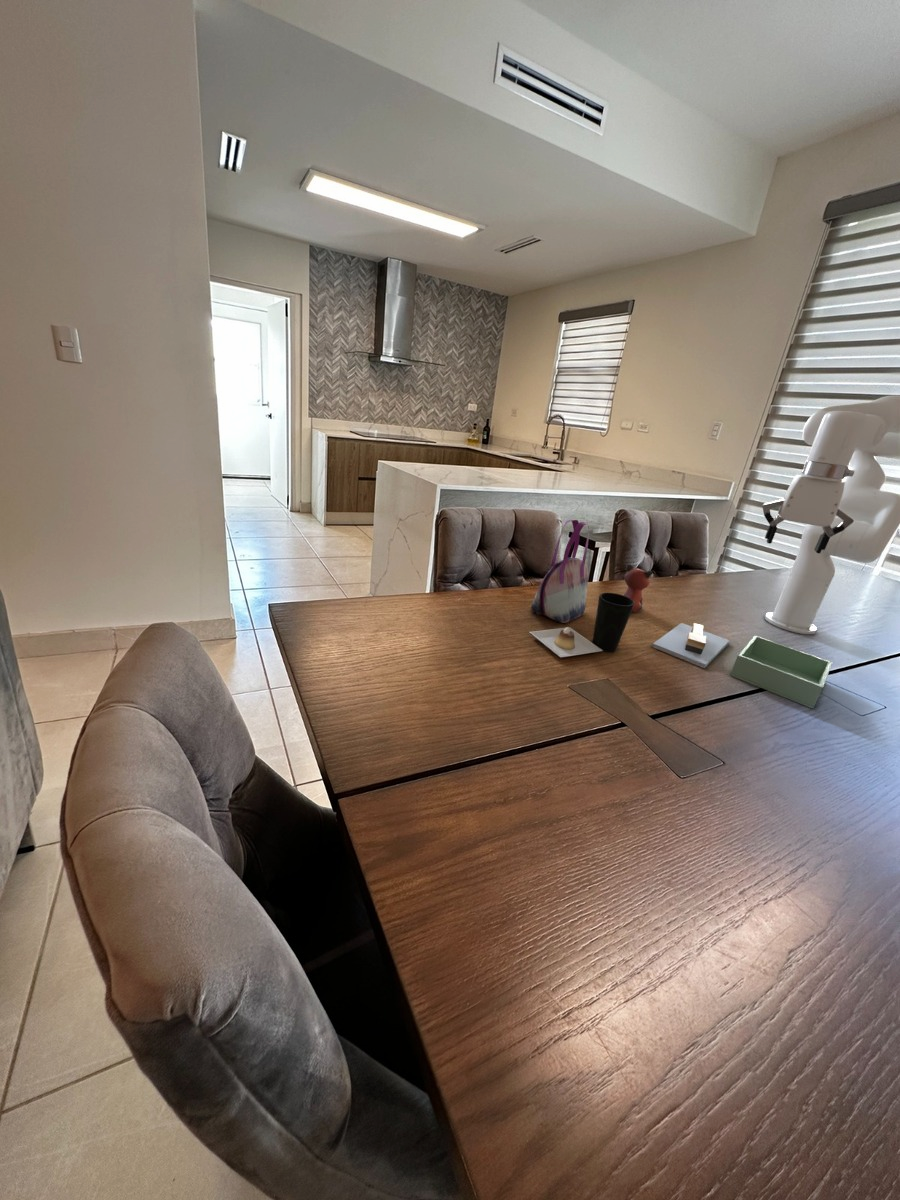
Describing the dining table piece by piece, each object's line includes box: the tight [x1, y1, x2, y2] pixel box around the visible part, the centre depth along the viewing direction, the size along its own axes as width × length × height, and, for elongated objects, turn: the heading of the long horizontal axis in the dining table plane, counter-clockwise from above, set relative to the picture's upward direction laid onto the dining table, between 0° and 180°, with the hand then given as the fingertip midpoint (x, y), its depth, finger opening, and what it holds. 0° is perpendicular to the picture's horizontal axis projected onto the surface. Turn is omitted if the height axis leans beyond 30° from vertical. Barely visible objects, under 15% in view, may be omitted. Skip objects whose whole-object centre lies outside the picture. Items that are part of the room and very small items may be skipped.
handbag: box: [531, 519, 590, 624], centre depth 120 cm, size 21×10×25 cm, turn 135°
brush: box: [685, 622, 706, 654], centre depth 114 cm, size 12×4×3 cm, turn 152°
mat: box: [651, 622, 731, 669], centre depth 116 cm, size 20×12×1 cm, turn 137°
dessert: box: [529, 626, 604, 658], centre depth 107 cm, size 12×12×5 cm
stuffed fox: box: [623, 563, 654, 613], centre depth 131 cm, size 8×11×12 cm
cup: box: [592, 592, 635, 653], centre depth 108 cm, size 8×8×12 cm
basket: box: [729, 635, 833, 709], centre depth 104 cm, size 16×15×5 cm
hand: (792, 547), depth 109 cm, fingers open, 9 cm apart
